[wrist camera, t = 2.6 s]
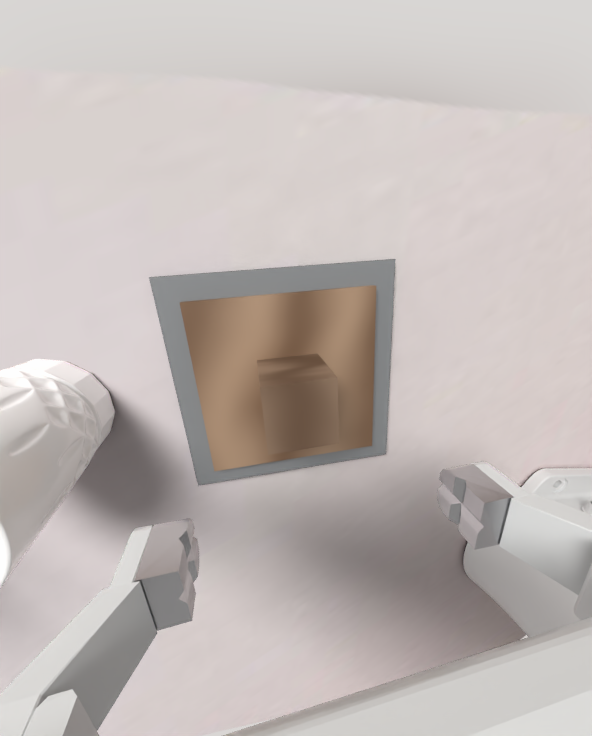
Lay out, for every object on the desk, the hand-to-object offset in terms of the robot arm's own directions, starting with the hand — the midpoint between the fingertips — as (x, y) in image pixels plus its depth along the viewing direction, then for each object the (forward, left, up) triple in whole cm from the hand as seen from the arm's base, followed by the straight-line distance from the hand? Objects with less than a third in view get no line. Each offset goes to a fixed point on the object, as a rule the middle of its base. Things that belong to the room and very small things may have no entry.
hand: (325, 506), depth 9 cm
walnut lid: (0, 0, -11) cm, 11 cm away
